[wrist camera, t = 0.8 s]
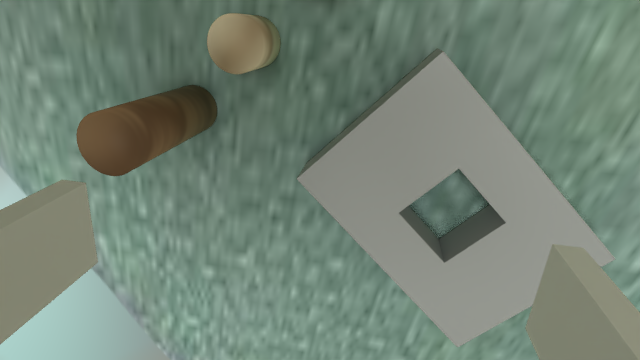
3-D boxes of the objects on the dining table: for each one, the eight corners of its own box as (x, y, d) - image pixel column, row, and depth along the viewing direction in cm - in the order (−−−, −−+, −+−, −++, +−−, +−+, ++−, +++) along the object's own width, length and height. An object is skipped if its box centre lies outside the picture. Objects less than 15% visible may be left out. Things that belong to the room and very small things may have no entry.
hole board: (306, 163, 36) (296, 178, 32) (437, 48, 31) (443, 51, 27) (451, 316, 39) (457, 347, 35) (590, 233, 34) (615, 258, 30)
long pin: (164, 106, 36) (64, 141, 25) (192, 75, 35) (99, 97, 24) (197, 139, 37) (114, 188, 26) (226, 110, 35) (151, 147, 24)
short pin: (222, 41, 33) (195, 42, 29) (255, 3, 32) (232, -1, 27) (257, 78, 34) (236, 86, 29) (290, 43, 33) (274, 45, 28)
